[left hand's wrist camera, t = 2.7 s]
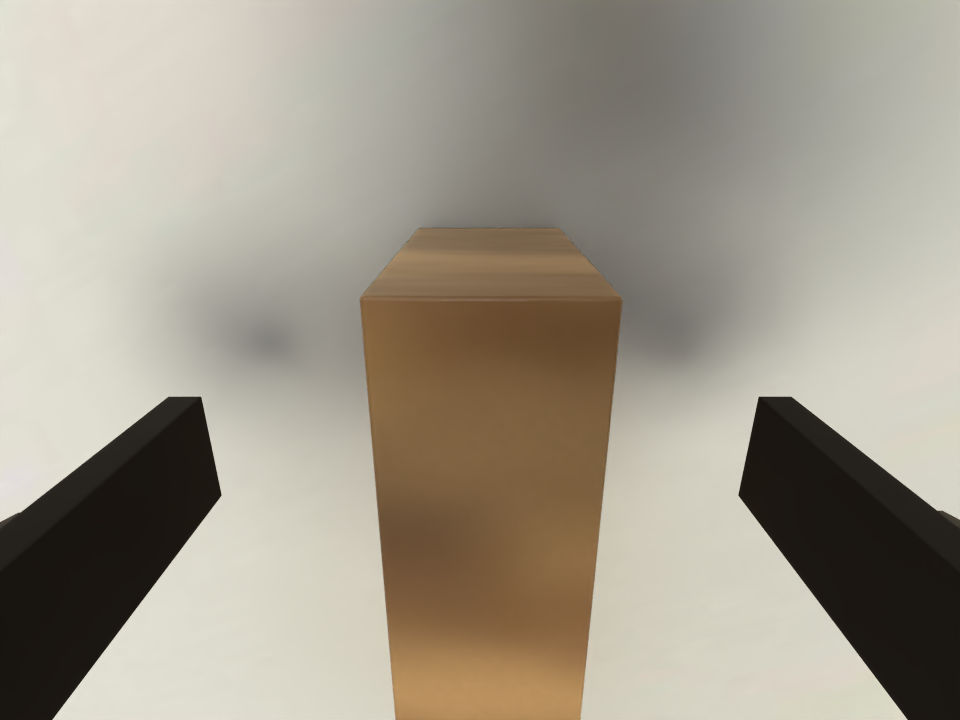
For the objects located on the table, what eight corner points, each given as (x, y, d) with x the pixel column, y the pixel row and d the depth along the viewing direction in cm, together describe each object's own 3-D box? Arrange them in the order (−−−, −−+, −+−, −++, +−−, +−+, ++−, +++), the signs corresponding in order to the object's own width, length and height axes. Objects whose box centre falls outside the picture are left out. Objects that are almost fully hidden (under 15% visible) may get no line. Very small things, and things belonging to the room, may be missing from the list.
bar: (417, 227, 18) (358, 296, 10) (560, 228, 18) (623, 297, 10) (437, 704, 26) (415, 959, 18) (534, 705, 26) (556, 961, 18)
